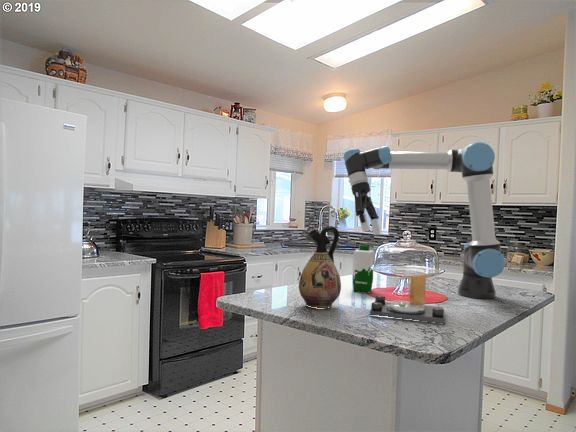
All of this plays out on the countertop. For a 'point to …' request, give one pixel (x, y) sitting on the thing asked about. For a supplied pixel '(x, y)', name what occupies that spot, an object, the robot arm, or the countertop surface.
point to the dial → (412, 298)
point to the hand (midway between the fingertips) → (371, 232)
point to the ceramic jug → (321, 272)
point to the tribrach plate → (429, 315)
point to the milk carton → (363, 269)
